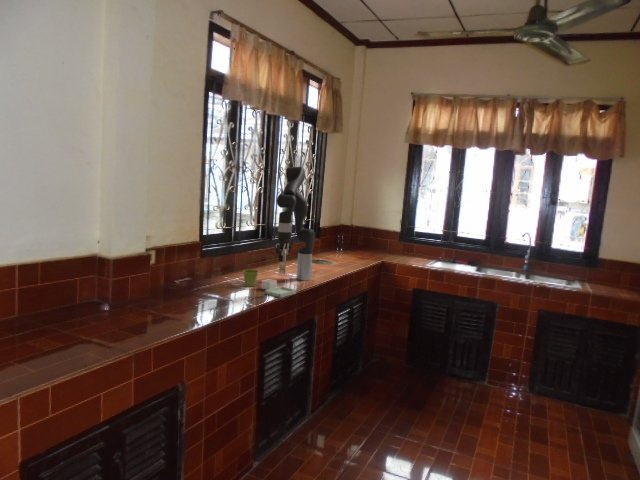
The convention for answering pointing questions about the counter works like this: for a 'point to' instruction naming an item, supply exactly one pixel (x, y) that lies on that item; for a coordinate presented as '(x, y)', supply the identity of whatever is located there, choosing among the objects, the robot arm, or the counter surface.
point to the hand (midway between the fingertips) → (282, 261)
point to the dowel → (283, 263)
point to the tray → (280, 291)
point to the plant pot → (250, 277)
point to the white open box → (269, 284)
